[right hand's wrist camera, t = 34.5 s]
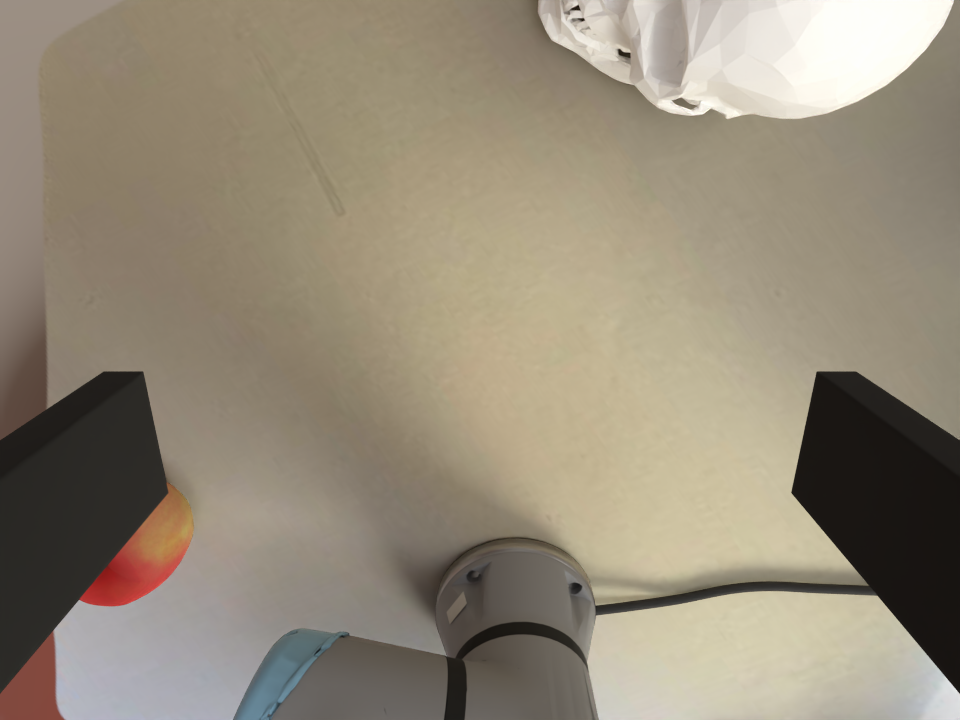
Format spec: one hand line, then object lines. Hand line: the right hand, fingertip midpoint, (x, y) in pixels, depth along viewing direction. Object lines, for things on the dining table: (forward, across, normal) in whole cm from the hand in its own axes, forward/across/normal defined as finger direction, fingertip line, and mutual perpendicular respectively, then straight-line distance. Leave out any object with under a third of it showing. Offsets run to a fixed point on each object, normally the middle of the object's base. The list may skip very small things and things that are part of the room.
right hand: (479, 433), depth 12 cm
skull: (+37, -15, -13) cm, 42 cm away
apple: (+37, +29, +26) cm, 54 cm away
